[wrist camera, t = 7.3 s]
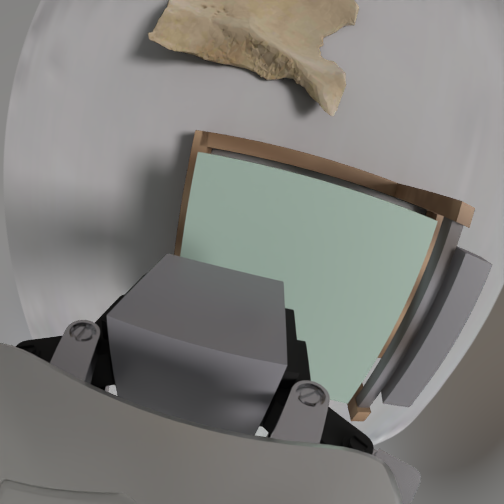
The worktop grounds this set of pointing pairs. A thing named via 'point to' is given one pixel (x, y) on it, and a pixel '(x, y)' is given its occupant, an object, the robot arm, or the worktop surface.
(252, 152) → the frame
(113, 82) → the worktop surface
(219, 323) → the block
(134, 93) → the worktop surface
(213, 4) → the rock
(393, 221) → the trapdoor
